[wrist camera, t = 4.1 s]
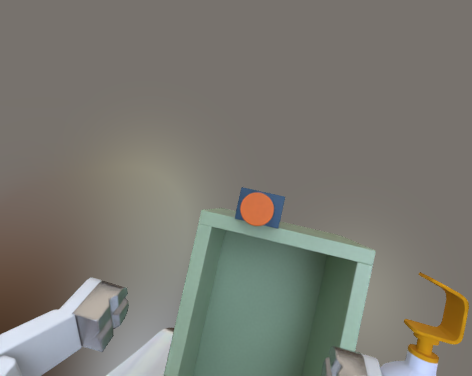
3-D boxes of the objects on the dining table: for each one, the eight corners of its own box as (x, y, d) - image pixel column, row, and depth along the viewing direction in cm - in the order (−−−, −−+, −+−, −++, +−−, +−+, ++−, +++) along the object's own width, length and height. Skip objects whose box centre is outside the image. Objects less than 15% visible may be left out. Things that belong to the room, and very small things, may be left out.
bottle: (282, 238, 19) (292, 193, 19) (222, 224, 19) (231, 180, 20) (274, 220, 39) (279, 199, 39) (244, 213, 40) (249, 192, 40)
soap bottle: (355, 425, 40) (388, 262, 41) (423, 451, 38) (457, 279, 39) (372, 485, 31) (415, 276, 32) (462, 522, 29) (504, 299, 30)
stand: (318, 530, 26) (376, 250, 27) (143, 465, 28) (201, 209, 29) (301, 421, 39) (340, 235, 40) (182, 383, 41) (221, 208, 42)
